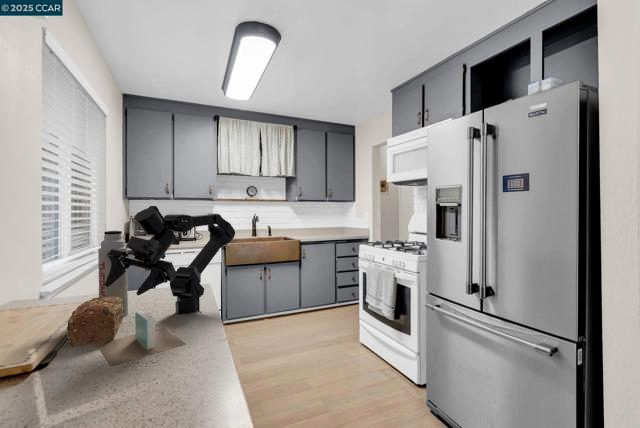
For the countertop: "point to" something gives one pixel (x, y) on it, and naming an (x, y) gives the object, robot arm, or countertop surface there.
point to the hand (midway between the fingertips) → (121, 290)
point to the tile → (145, 329)
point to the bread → (95, 321)
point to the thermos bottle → (121, 284)
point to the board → (137, 347)
